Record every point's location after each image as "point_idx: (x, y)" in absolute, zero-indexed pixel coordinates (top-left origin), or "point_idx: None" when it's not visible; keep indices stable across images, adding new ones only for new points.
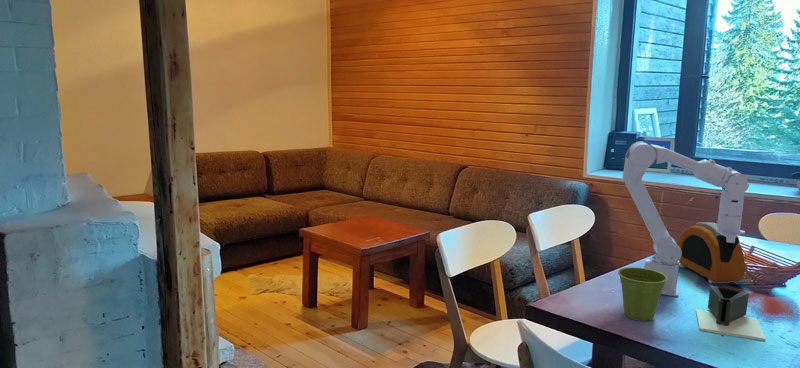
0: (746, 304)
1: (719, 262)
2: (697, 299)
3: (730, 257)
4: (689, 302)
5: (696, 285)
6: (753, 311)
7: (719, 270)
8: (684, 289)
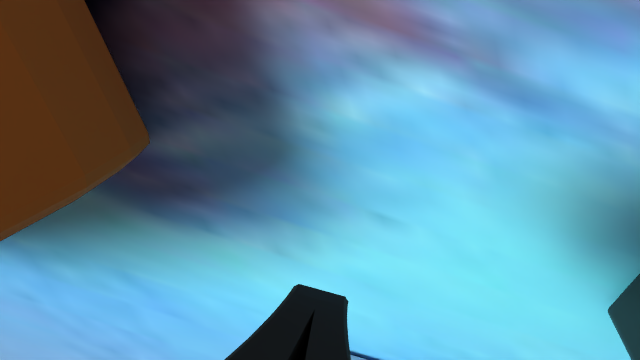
0: None
1: (65, 190)
2: (441, 298)
3: (346, 340)
4: (499, 351)
5: (194, 224)
6: (630, 43)
7: (115, 161)
8: None
